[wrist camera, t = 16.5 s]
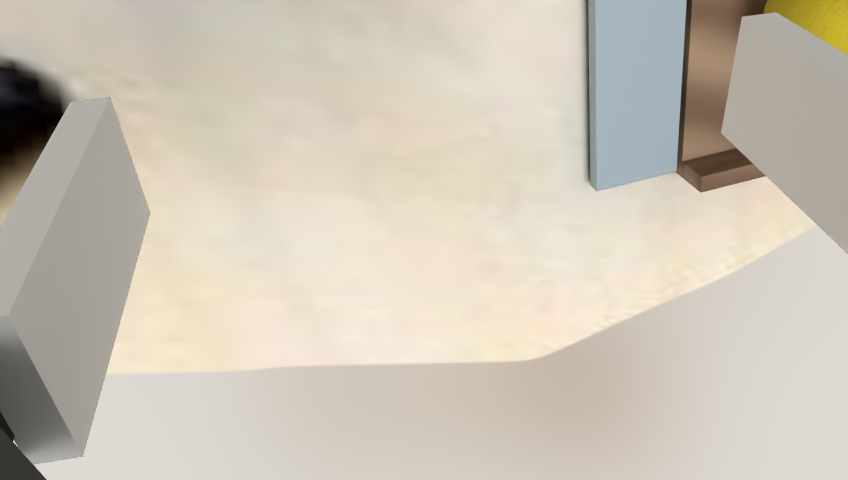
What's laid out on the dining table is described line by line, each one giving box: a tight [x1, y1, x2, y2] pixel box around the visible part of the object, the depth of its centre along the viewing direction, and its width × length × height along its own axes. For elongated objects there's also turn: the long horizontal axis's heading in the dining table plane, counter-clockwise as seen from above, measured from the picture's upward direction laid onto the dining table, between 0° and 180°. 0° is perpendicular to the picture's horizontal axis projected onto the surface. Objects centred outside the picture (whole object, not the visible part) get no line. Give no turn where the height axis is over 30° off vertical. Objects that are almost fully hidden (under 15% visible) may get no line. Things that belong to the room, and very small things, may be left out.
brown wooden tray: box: [676, 0, 767, 192], centre depth 47 cm, size 22×12×4 cm, turn 8°
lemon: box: [763, 0, 848, 55], centre depth 44 cm, size 6×6×8 cm
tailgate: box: [588, 0, 687, 191], centre depth 46 cm, size 21×1×6 cm
